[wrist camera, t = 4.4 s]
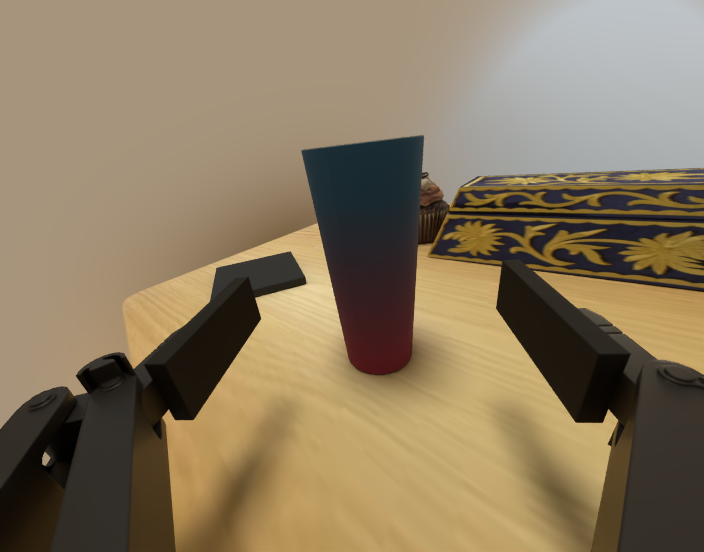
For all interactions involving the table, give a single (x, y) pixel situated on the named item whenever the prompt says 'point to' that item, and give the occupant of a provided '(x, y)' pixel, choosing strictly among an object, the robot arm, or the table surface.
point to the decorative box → (584, 224)
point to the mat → (262, 274)
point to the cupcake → (430, 210)
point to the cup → (371, 242)
